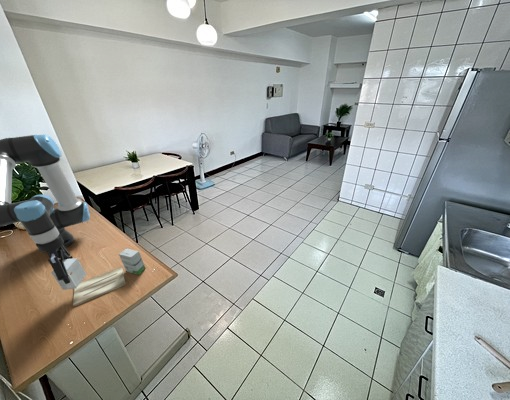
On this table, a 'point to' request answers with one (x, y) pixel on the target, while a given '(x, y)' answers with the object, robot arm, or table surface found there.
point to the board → (98, 286)
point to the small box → (72, 272)
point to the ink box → (132, 261)
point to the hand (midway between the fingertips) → (72, 279)
